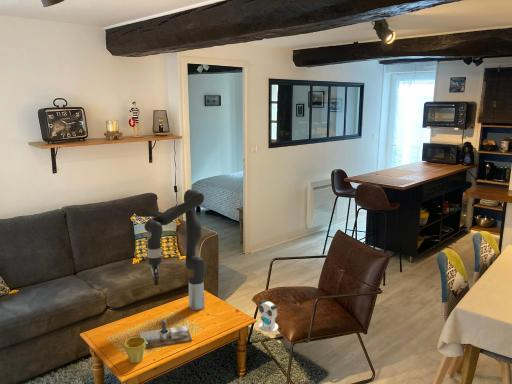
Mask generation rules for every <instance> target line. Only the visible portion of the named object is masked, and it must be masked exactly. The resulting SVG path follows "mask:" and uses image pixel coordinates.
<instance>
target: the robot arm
mask: <svg viewBox="0 0 512 384" xmlns="http://www.w3.org/2000/svg"><path fill="white" fill-rule="evenodd" d="M204 201H205V195H204V193H203V192H201V191H199V190H195V189H187V190H185V192H184V194H183V202H182V203H180V204H176V205H174V206H172V207H169V208H168V209H166V210H165V211H163V212H162V213H160V214H159V215H156V216H154V217H152V218H150V219H148V220H147V221H146V222H145V223H144V230H145V231H146V232H147V233H150V234H151V236H150V237H148V238H147V264H148V265H150V270H151V273H152V280H153V285H154V286H158V285H159V277H160V276H159V275H160V267H159V265H160V264H162V248H161V240H162V239H161V238H162V236H163V235H162V234H163V226H168V225H169V224H171V223H172V222H173V221H175V220H176V219H177V218H179V217H181V216H182V215H184V214H185V237H186V238H185V239H186V243H185V244H186V247H185V248H186V251H185V268H186V269H187V270H188V271H191V272H193V274H191V275H190V276H189V277H188V308H189V309H190V310H192V311H200V310H202V309H205V305H206V304H205V302H206V301H205V293H204V292H205V289H204V288H205V287H204V286H205V285H204V283H205V282H204V279H205V275H206V274H205V273H206V263H205V262H206V261H205V258H202V257H199V256H197V255H196V250H197V249H196V248H197V246H198V244H199V243H200V240H201V238H202V224H201V221H200V219H199V216H198V215H197V211H196V210H197V209H196V208H197V207H199V206H201V205H202V204H203V203H204Z"/></svg>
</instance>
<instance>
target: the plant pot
mask: <svg viewBox="0 0 512 384" xmlns="http://www.w3.org/2000/svg"><path fill="white" fill-rule="evenodd" d="M123 345H124V347H123V348H124V351H125V352H126V355H127V358H128V360H129V362H130V363H131V364H138V363H141V362H142V361H143V360H144V353H145V347H146V341H145V339H144V338H142V337H140V336H133V337H130V338H128V339H126V340H125V342H124V344H123Z"/></svg>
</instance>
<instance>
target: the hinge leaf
mask: <svg viewBox="0 0 512 384" xmlns="http://www.w3.org/2000/svg"><path fill="white" fill-rule="evenodd" d="M166 331H167V333H162V328H161V329H156V330H147V331H143V332H141V331H140V332H139V337H142V338H144V339H145V341H147V342H148V343H152V342H158V341H167V340H169V339H170V328H166Z"/></svg>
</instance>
